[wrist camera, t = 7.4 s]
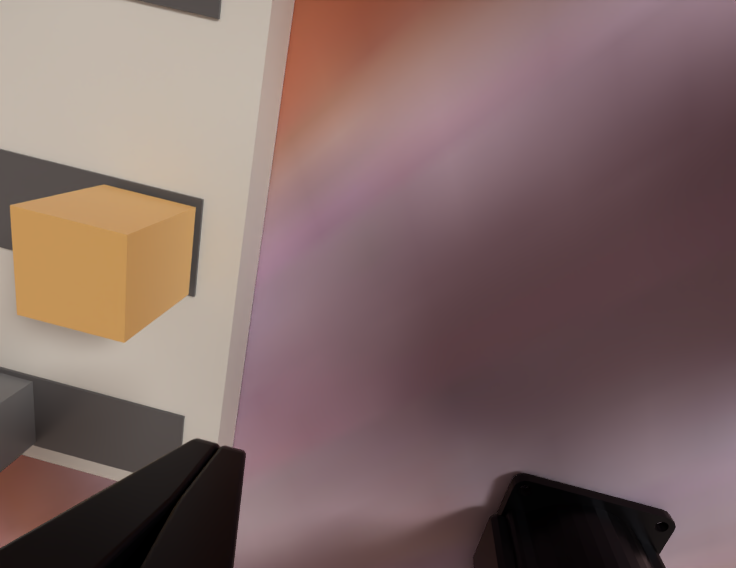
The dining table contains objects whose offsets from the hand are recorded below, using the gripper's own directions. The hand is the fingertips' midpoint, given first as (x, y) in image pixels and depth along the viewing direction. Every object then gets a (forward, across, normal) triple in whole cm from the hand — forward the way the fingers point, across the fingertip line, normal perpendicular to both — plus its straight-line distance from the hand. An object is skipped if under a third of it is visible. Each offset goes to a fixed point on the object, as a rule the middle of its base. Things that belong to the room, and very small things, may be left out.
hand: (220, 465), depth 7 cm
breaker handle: (+8, +6, 0) cm, 10 cm away
